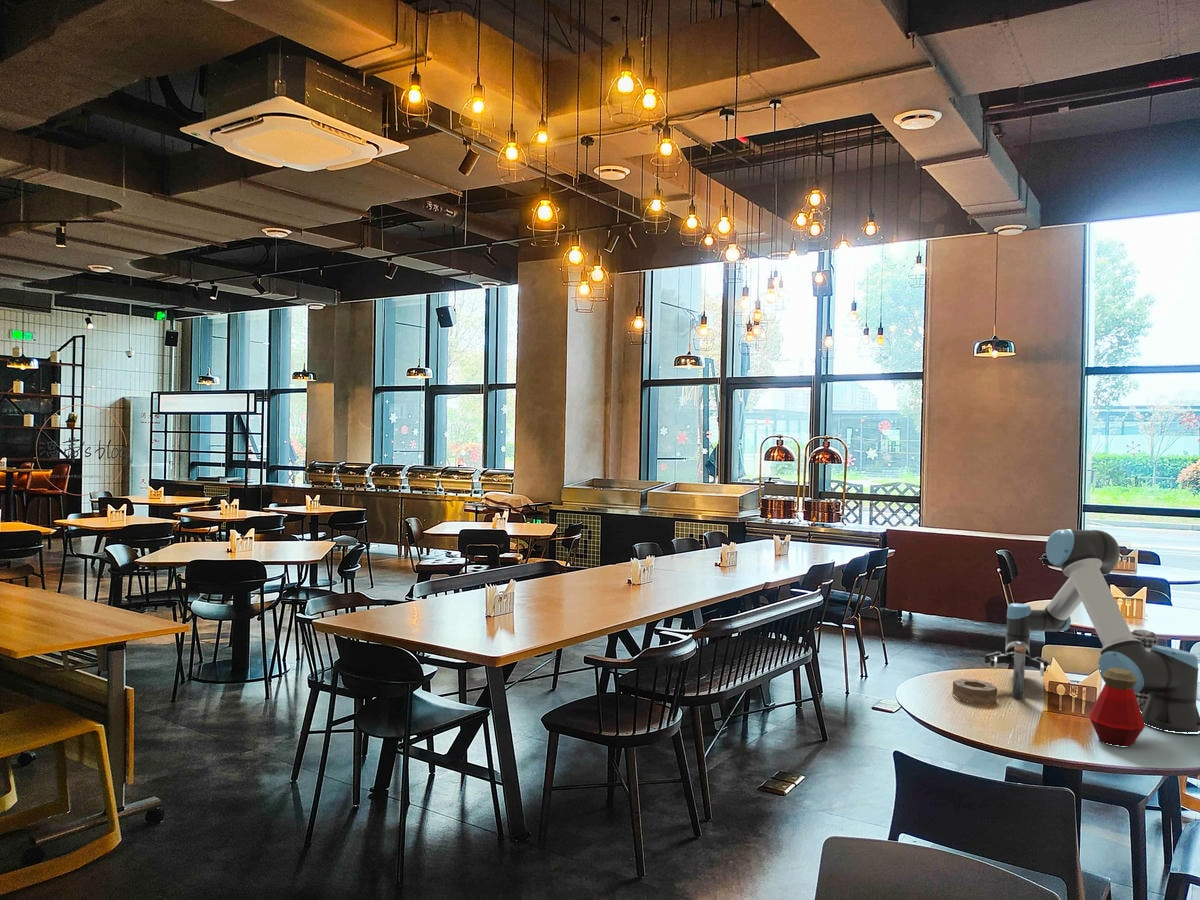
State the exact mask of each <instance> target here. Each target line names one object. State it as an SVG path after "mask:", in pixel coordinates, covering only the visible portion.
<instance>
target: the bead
mask: <svg viewBox="0 0 1200 900" xmlns="http://www.w3.org/2000/svg"><path fill="white" fill-rule="evenodd" d="M953 694H954V695H955V696H956V697H957V698H958V699H961V700H965V701H968V702H971V703H970V704H972V703H976V704H975V705H985V704H990V705H992V703H993V704H995V703H997V701H998V698H997V697H998V687H997V686H995V685H994V684H993V683H991V682H987V681H983V680H980V679H972V678H970V679H969V678H958V679H956V680H953V681H952V695H953ZM957 698H956V699H957ZM958 699H957V700H958ZM961 700H960V701H961ZM965 701H964V702H965ZM968 702H967V703H968ZM994 702H995V703H994Z"/></svg>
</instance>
